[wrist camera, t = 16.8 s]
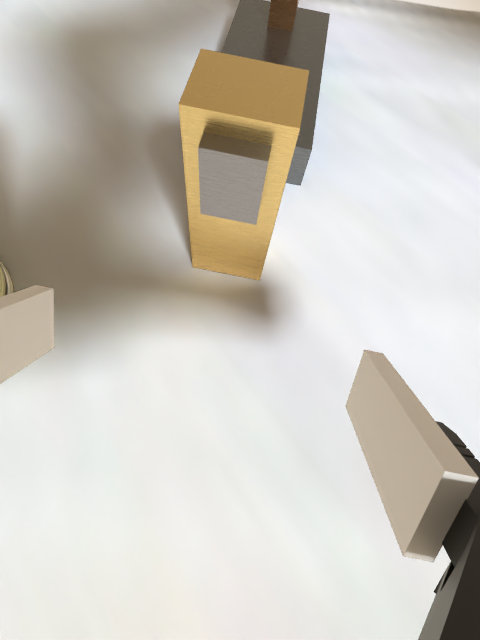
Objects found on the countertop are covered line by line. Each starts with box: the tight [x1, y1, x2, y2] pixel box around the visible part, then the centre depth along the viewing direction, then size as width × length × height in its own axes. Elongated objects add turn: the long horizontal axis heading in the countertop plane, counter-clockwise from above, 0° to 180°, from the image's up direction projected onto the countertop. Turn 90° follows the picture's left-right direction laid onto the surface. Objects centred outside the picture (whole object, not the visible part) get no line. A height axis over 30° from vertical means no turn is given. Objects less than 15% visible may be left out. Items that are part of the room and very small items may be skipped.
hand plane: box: [222, 0, 330, 185], centre depth 27 cm, size 9×20×12 cm, turn 170°
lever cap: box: [179, 49, 309, 280], centre depth 20 cm, size 5×5×12 cm
